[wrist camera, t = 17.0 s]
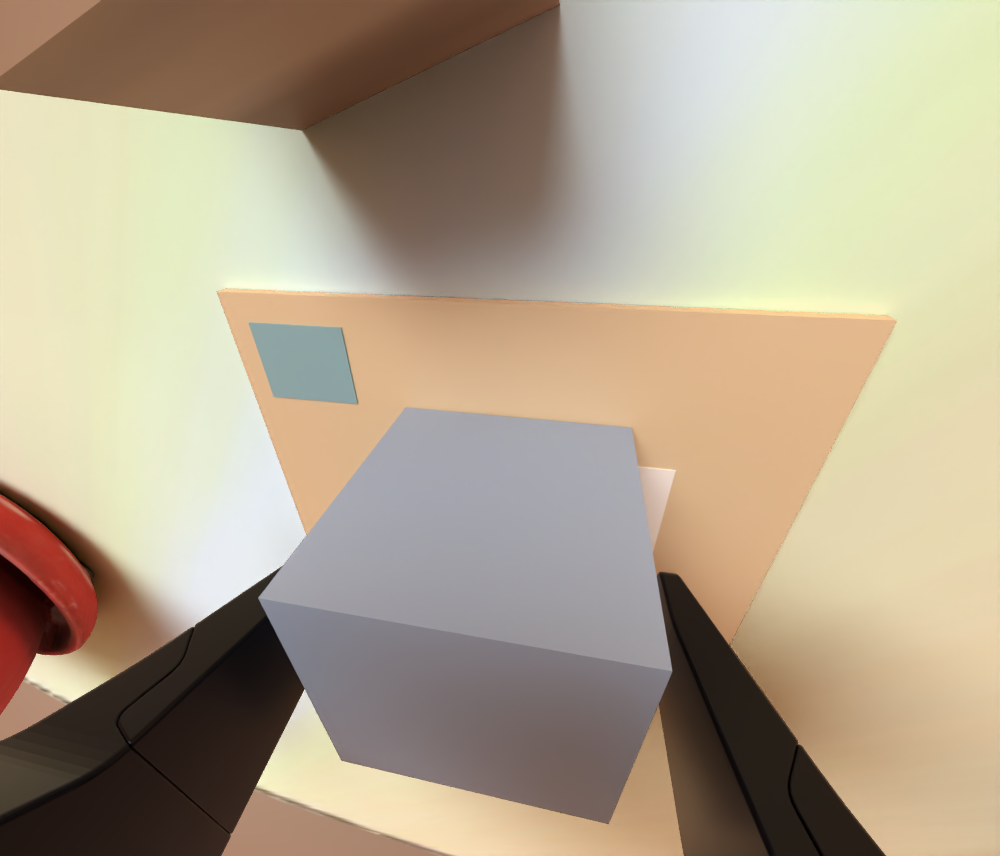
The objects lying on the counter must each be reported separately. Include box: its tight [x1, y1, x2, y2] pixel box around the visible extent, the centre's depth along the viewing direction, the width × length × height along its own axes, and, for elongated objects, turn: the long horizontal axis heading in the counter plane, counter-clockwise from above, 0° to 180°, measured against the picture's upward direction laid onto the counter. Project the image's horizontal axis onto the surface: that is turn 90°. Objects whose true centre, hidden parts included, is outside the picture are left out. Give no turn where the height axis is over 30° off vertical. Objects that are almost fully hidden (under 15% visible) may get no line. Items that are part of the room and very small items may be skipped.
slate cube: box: [258, 407, 672, 824], centre depth 9 cm, size 6×6×6 cm
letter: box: [217, 288, 897, 645], centre depth 11 cm, size 11×14×1 cm
